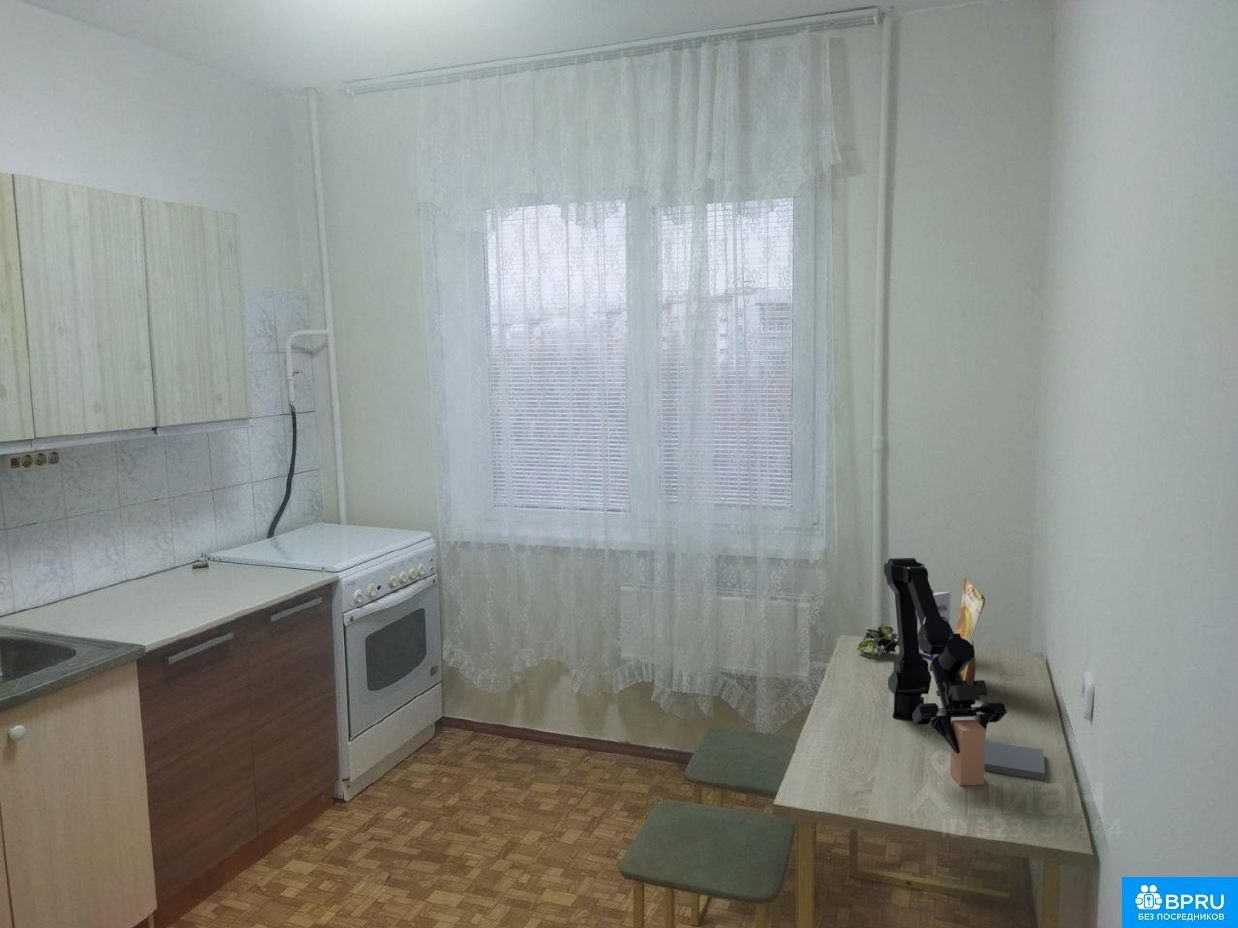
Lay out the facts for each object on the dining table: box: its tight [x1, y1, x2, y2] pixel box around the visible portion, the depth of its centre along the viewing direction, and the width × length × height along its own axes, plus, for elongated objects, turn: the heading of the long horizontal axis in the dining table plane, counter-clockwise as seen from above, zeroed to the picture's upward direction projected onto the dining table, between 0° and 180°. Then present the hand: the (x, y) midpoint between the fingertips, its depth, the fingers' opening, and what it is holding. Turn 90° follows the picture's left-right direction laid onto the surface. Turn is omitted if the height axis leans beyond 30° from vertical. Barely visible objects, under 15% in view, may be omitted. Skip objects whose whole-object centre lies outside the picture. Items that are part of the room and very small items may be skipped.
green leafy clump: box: [856, 624, 899, 661], centre depth 258 cm, size 11×11×12 cm
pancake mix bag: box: [955, 577, 986, 685], centre depth 232 cm, size 7×19×28 cm, turn 165°
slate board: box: [984, 740, 1046, 781], centre depth 189 cm, size 12×12×2 cm
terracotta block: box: [949, 719, 987, 786], centre depth 181 cm, size 5×5×12 cm
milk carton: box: [916, 589, 951, 662], centre depth 257 cm, size 7×7×20 cm
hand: (970, 752), depth 180 cm, fingers closed on terracotta block, 5 cm apart
